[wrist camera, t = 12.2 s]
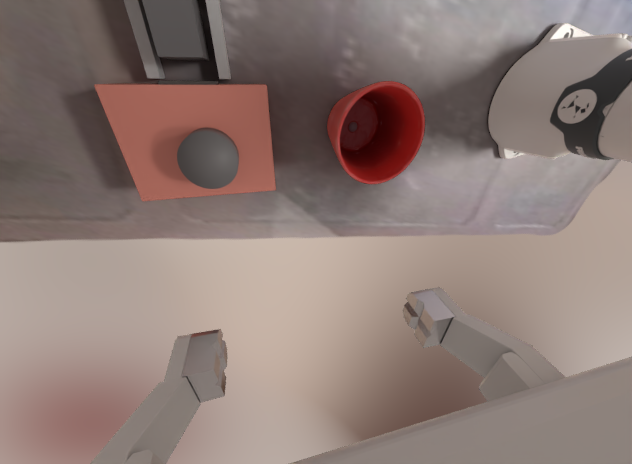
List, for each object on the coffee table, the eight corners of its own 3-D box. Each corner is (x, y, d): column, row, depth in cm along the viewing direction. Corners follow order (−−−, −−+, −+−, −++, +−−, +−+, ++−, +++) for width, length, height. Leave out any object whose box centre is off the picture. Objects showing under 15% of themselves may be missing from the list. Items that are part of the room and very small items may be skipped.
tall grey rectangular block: (193, -27, 24) (182, -48, 20) (209, 60, 28) (203, 57, 24) (148, -31, 23) (126, -54, 19) (171, 59, 27) (157, 56, 23)
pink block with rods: (253, -39, 24) (254, -82, 18) (272, 177, 36) (278, 199, 30) (65, -58, 21) (-18, -119, 15) (155, 185, 33) (132, 212, 27)
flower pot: (312, 161, 37) (330, 184, 29) (321, 75, 31) (346, 74, 23) (376, 163, 39) (408, 185, 31) (394, 85, 34) (440, 87, 26)
